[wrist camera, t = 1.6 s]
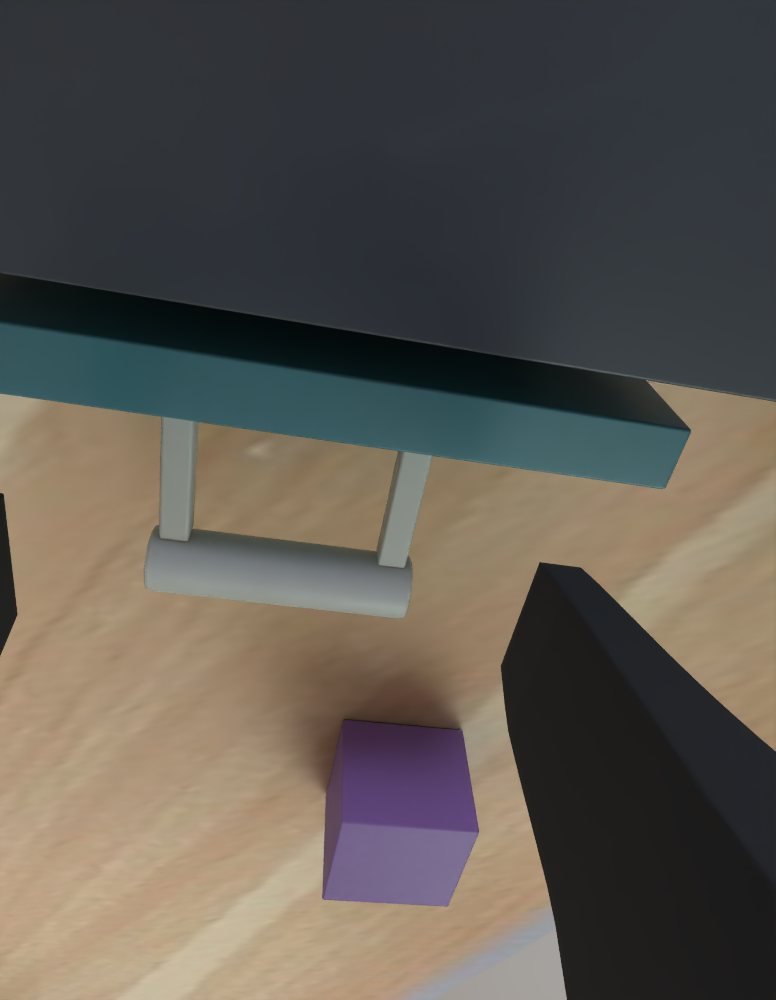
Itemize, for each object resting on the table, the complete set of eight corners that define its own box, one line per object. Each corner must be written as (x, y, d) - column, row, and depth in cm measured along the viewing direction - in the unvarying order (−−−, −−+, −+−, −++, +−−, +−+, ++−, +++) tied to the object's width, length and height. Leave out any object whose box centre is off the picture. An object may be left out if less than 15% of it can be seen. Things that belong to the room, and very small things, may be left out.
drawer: (520, 530, 20) (576, 685, 15) (40, 466, 18) (-75, 618, 13) (871, -489, 10) (1340, -981, 5) (-67, -827, 9) (-619, -1999, 4)
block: (462, 729, 26) (479, 832, 22) (436, 804, 28) (448, 907, 24) (342, 718, 25) (341, 822, 22) (325, 795, 27) (321, 900, 24)
